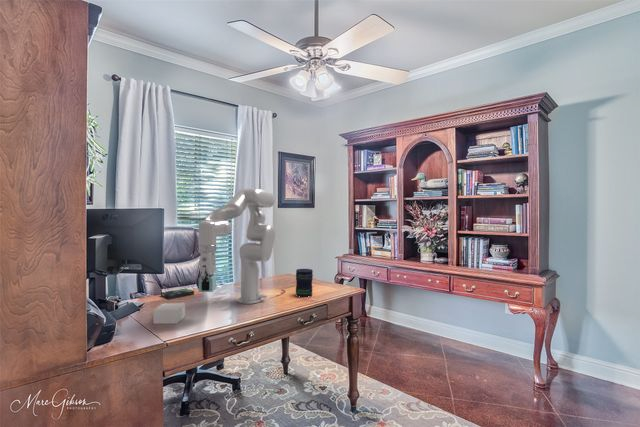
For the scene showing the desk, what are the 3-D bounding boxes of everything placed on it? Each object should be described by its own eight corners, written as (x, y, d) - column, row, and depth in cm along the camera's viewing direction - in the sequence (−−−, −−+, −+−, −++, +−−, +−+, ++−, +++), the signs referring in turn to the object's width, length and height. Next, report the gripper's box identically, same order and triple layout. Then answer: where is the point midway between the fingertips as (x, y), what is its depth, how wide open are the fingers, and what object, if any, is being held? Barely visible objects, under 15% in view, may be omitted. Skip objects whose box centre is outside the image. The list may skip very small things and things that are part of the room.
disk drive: (169, 300, 183) (194, 295, 195) (169, 295, 183) (194, 290, 195) (160, 297, 190) (185, 292, 201) (160, 292, 190) (185, 287, 201)
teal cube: (215, 288, 155) (215, 275, 155) (212, 291, 149) (212, 278, 149) (202, 288, 155) (202, 275, 154) (198, 291, 149) (198, 278, 148)
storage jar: (308, 298, 191) (309, 272, 191) (292, 296, 194) (293, 270, 194) (314, 294, 200) (315, 269, 200) (299, 292, 204) (300, 268, 204)
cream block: (184, 316, 156) (185, 303, 155) (177, 323, 146) (177, 309, 146) (162, 316, 155) (162, 303, 155) (153, 323, 145) (153, 309, 145)
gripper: (211, 251, 143) (211, 293, 143) (220, 246, 160) (220, 283, 161) (193, 251, 142) (193, 293, 143) (204, 246, 159) (204, 283, 160)
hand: (207, 288), depth 152 cm, fingers closed on teal cube, 6 cm apart
